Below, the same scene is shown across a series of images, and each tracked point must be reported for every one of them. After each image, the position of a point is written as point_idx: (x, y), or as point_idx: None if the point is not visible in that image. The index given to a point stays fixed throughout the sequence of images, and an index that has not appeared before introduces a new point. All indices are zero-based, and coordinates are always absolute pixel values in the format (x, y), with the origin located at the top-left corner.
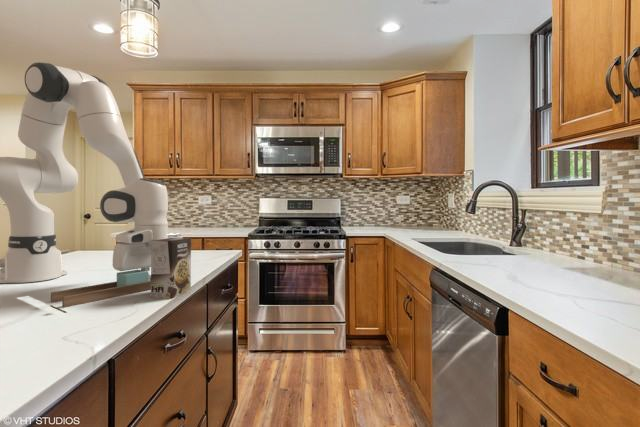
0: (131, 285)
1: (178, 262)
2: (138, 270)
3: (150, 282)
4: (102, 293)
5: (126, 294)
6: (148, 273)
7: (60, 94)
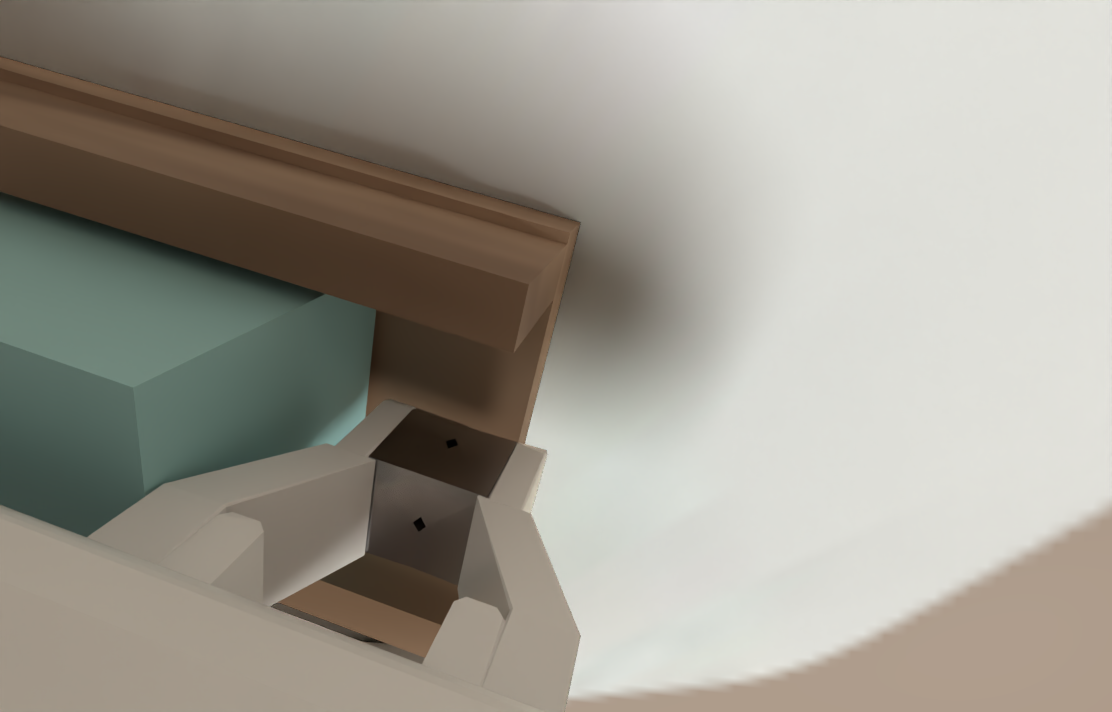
0: None
1: None
2: (92, 473)
3: (296, 600)
4: None
5: None
6: (285, 593)
7: None
